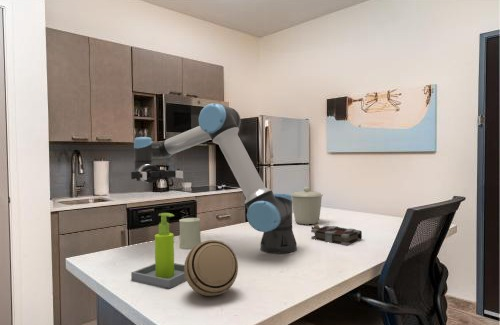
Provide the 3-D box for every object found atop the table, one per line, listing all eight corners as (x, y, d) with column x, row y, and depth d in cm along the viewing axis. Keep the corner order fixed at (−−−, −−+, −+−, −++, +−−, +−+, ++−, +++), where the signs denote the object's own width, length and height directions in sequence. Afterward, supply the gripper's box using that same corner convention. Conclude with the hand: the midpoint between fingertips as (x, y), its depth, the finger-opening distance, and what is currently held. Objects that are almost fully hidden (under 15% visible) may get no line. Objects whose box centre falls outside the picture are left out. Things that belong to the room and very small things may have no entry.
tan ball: (174, 300, 93) (173, 245, 93) (201, 281, 107) (200, 233, 107) (224, 308, 88) (223, 249, 87) (246, 287, 102) (245, 236, 101)
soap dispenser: (167, 280, 107) (165, 215, 107) (151, 276, 111) (150, 213, 110) (180, 274, 112) (179, 212, 112) (165, 271, 115) (164, 211, 115)
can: (196, 249, 145) (196, 220, 145) (176, 248, 147) (175, 220, 147) (204, 243, 154) (203, 216, 154) (184, 243, 156) (184, 216, 156)
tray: (197, 274, 113) (197, 267, 113) (169, 289, 101) (169, 280, 101) (162, 267, 121) (161, 260, 121) (131, 280, 109) (131, 272, 109)
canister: (326, 226, 189) (325, 187, 188) (292, 226, 189) (292, 188, 189) (319, 220, 207) (319, 185, 206) (289, 220, 207) (289, 185, 207)
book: (346, 246, 147) (346, 234, 147) (298, 237, 165) (298, 227, 165) (362, 240, 158) (362, 229, 158) (316, 232, 175) (316, 222, 175)
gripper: (178, 180, 151) (196, 183, 133) (118, 183, 139) (129, 187, 120) (177, 163, 151) (196, 164, 133) (117, 165, 138) (128, 166, 120)
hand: (164, 175), depth 127 cm, fingers open, 13 cm apart
